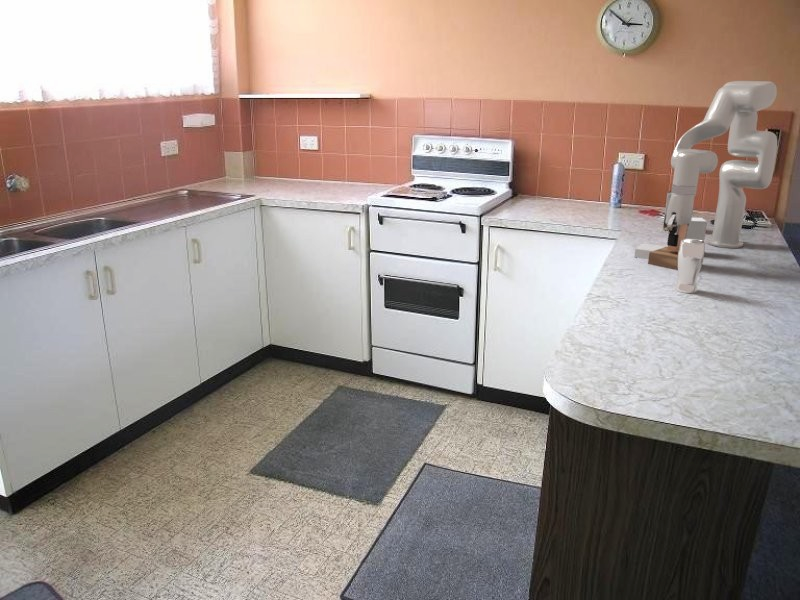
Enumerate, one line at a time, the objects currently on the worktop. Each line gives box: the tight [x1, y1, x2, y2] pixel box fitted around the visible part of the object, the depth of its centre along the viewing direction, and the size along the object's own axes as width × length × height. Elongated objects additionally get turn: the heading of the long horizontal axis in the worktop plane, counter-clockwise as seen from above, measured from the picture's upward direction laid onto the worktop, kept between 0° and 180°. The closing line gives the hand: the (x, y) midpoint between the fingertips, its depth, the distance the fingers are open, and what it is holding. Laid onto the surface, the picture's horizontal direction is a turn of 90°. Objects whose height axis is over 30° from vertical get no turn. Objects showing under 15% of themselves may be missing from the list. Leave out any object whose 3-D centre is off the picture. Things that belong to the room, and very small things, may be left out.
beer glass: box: [674, 238, 706, 294], centre depth 195 cm, size 7×7×15 cm
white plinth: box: [634, 243, 668, 260], centre depth 235 cm, size 10×10×3 cm
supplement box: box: [686, 216, 708, 241], centre depth 238 cm, size 7×7×13 cm
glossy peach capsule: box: [667, 223, 688, 252], centre depth 222 cm, size 5×5×9 cm
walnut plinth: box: [647, 246, 678, 271], centre depth 225 cm, size 12×12×4 cm
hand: (676, 243), depth 223 cm, fingers closed on glossy peach capsule, 5 cm apart
